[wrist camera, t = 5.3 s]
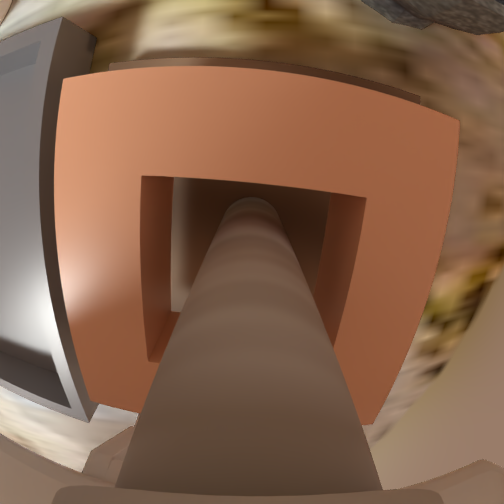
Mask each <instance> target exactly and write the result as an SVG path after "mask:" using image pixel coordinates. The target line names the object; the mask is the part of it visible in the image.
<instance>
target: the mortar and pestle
mask: <svg viewBox="0 0 504 504" xmlns="http://www.w3.org/2000/svg"><path fill="white" fill-rule="evenodd" d="M361 1H362V2H364V3H365V4H367V5H368V6H370V7H371V8H373V9H374V10H376V11H377V12H379V13H380V14H382V15H383V16H384V17H386V18H387V19H388V20H390V21H391V22H393V23H398V24H402V25H407V26H411V27H415V28H419V29H423V28H425V27H427V26H428V25H430V24H432V23H434V22H435V23H438V24H441V25H445V26H447V27H450V28H453V29H457V30H461V31H465V32H468V33H472V34H476V35H481V34H490V33H500V32H503V31H504V0H361Z"/></svg>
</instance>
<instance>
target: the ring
mask: <svg viewBox="0 0 504 504" xmlns="http://www.w3.org/2000/svg"><path fill="white" fill-rule="evenodd" d="M459 129H460V121H459V120H457V119H455V118H452V117H450V116H448V115H445V114H443V113H440V112H438V111H435V110H432V109H430V108H427V107H424V106H422V105H419V104H416V103H413V102H410V101H407V100H404V99H401V98H398V97H395V96H391V95H388V94H385V93H381V92H378V91H374V90H370V89H367V88H363V87H359V86H355V85H351V84H346V83H342V82H337V81H333V80H328V79H323V78H317V77H312V76H306V75H300V74H293V73H286V72H279V71H270V70H261V69H250V68H237V67H218V66H165V67H147V68H134V69H123V70H115V71H107V72H99V73H93V74H86V75H81V76H75V77H70V78H65V79H63V83H62V90H61V96H60V103H59V111H58V120H57V130H56V143H55V162H54V209H55V229H56V242H57V252H58V261H59V269H60V277H61V284H62V290H63V296H64V302H65V307H66V312H67V317H68V322H69V327H70V331H71V336H72V340H73V344H74V348H75V352H76V355H77V359H78V363H79V366H80V370H81V373H82V376H83V380H84V383H85V386H86V389H87V392H88V395H89V398H90V401H93V402H96V403H100V404H104V405H107V406H111V407H115V408H119V409H123V410H127V411H132V412H136V413H141V411H142V408H143V406H144V403H145V400H146V398H147V395H148V393H149V390H150V387H151V385H152V382H153V380H154V377H155V375H156V372H157V369H158V367H159V364H160V362H161V359H162V357H163V354H164V352H165V349H166V347H167V345H168V342H169V340H170V337H171V335H172V332H173V330H174V328H175V325H176V323H177V320H178V318H179V316H180V313H181V312H174V311H171V228H172V203H173V184H174V177H187V178H202V179H216V180H229V181H240V182H251V183H261V184H270V185H279V186H288V187H296V188H304V189H312V190H319V191H326V192H331V196H330V203H329V210H328V216H327V223H326V229H325V235H324V241H323V247H322V253H321V259H320V264H319V270H318V275H317V280H316V286H315V291H314V296H313V299H314V301H315V304H316V306H317V309H318V311H319V314H320V316H321V319H322V321H323V324H324V326H325V329H326V331H327V334H328V336H329V339H330V342H331V344H332V347H333V349H334V352H335V355H336V357H337V360H338V362H339V365H340V368H341V370H342V373H343V376H344V378H345V381H346V384H347V387H348V389H349V392H350V395H351V398H352V400H353V403H354V406H355V409H356V412H357V414H358V417H359V420H360V423H361V425H368V424H373V423H374V421H375V419H376V417H377V415H378V413H379V412H380V410H381V408H382V406H383V404H384V402H385V400H386V398H387V396H388V394H389V392H390V390H391V388H392V386H393V384H394V382H395V380H396V378H397V375H398V373H399V371H400V369H401V367H402V364H403V362H404V360H405V357H406V355H407V353H408V350H409V348H410V345H411V343H412V340H413V338H414V335H415V333H416V330H417V327H418V325H419V322H420V319H421V316H422V313H423V311H424V308H425V305H426V302H427V299H428V296H429V292H430V289H431V286H432V283H433V279H434V276H435V272H436V269H437V265H438V261H439V257H440V253H441V249H442V245H443V241H444V237H445V232H446V227H447V222H448V217H449V212H450V207H451V201H452V195H453V188H454V181H455V174H456V165H457V156H458V144H459Z"/></svg>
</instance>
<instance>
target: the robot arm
mask: <svg viewBox="0 0 504 504" xmlns="http://www.w3.org/2000/svg"><path fill="white" fill-rule="evenodd" d="M140 414H141V413H139V415H138V418H137V421H136V424H135V426H134V427H133V426H130V427H129V428H127V429H126V430H124V431H123V432H121V433H119V434H118V435H116V436H115V437H113V438H111V439H110V440H108V441H106V442H105V443H103V444H102V445H100V446H98V447H97V448H95V449H93V450H92V451H91V452H90V455H89V457H88V459H87V462H86V464H85V466H84V468H83V471H82V473H81V472H78V471H75V470H73V469H70V468H68V467H65V466H63V465H61V464H58V463H56V462H54V461H52V460H49V459H47V458H45V457H43V456H41V455H39V454H37V453H35V452H33V451H31V450H29V449H27V448H25V447H23V446H21V445H19V444H18V443H16V442H14V441H12V440H10V439H9V438H7V437H5V436H4V435H2V434H0V504H51V503H52V501H53V498H54V496H55V494H56V492H57V491H58V490H59V489H60V488H63V487H67V486H82V485H87V486H102V487H114V488H115V485H116V482H117V479H118V476H119V473H120V470H121V467H122V464H123V461H124V458H125V455H126V452H127V450H128V447H129V444H130V441H131V438H132V436H133V433H134V430H135V427H136V425H137V422H138V419H139V416H140ZM400 489H426V490H432V491H435V492H437V493H439V494H440V496H441V497H442V500H443V502H444V504H504V468H503V467H501V466H499V465H497V464H495V463H492V462H490V461H487V460H484V459H482V460H478V461H476V462H473V463H471V464H469V465H467V466H464V467H462V468H459V469H457V470H455V471H452V472H450V473H447V474H444V475H442V476H439V477H436V478H433V479H430V480H427V481H424V482H421V483H417V484H414V485H411V486H407V487H404V488H400Z"/></svg>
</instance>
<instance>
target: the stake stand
mask: <svg viewBox="0 0 504 504" xmlns="http://www.w3.org/2000/svg"><path fill="white" fill-rule="evenodd" d="M165 66H218V67H237V68H250V69H261V70H270V71H279V72H286V73H293V74H300V75H306V76H312V77H317V78H323V79H328V80H333V81H337V82H342V83H346V84H351V85H355V86H359V87H363V88H367V89H370V90H374V91H378V92H381V93H385V94H388V95H391V96H395V97H398V98H401V99H404V100H407V101H410V102H413V103H416V104H419V105H420V96H418V95H415V94H412V93H409V92H406V91H403V90H400V89H397V88H394V87H390V86H387V85H384V84H380V83H377V82H373V81H370V80H366V79H362V78H358V77H354V76H350V75H346V74H341V73H337V72H332V71H327V70H322V69H317V68H311V67H305V66H299V65H293V64H285V63H278V62H269V61H259V60H248V59H233V58H199V57H194V58H160V59H146V60H134V61H125V62H117V63H110V64H109V69H108V71H115V70H123V69H134V68H147V67H165ZM330 196H331V192H326V191H319V190H312V189H304V188H296V187H288V186H279V185H270V184H261V183H251V182H240V181H229V180H216V179H202V178H187V177H174V184H173V203H172V228H171V311H174V312H181V313H180V316H179V318H178V320H177V323H176V325H175V328H174V330H173V332H172V335H171V337H170V340H169V342H168V345H167V347H166V349H165V352H164V354H163V357H162V359H161V362H160V364H159V367H158V369H157V372H156V375H155V377H154V380H153V382H152V385H151V387H150V390H149V393H148V395H147V398H146V400H145V403H144V406H143V408H142V411H141V414H140V416H139V419H138V422H137V425H136V427H135V430H134V433H133V436H132V438H131V441H130V444H129V447H128V450H127V452H126V455H125V458H124V461H123V464H122V467H121V470H120V473H119V476H118V479H117V482H116V485H115V488H114V487H102V486H87V485H82V486H67V487H63V488H60V489H59V490H58V491H57V492H56V494H55V496H54V498H53V501H52V503H51V504H444V502H443V500H442V497H441V496H440V494H439V493H437V492H435V491H432V490H426V489H393V490H383V489H382V486H381V483H380V480H379V477H378V474H377V471H376V467H375V464H374V461H373V458H372V455H371V452H370V449H369V446H368V443H367V440H366V437H365V434H364V432H363V429H362V426H361V423H360V420H359V417H358V414H357V412H356V409H355V406H354V403H353V400H352V398H351V395H350V392H349V389H348V387H347V384H346V381H345V378H344V376H343V373H342V370H341V368H340V365H339V362H338V360H337V357H336V355H335V352H334V349H333V347H332V344H331V342H330V339H329V336H328V334H327V331H326V329H325V326H324V324H323V321H322V319H321V316H320V314H319V311H318V309H317V306H316V304H315V301H314V299H313V296H314V291H315V286H316V280H317V275H318V270H319V264H320V259H321V253H322V247H323V241H324V235H325V229H326V223H327V216H328V210H329V203H330Z"/></svg>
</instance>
